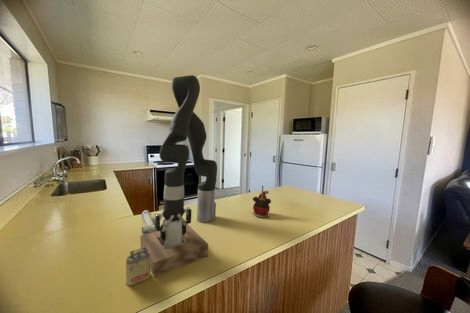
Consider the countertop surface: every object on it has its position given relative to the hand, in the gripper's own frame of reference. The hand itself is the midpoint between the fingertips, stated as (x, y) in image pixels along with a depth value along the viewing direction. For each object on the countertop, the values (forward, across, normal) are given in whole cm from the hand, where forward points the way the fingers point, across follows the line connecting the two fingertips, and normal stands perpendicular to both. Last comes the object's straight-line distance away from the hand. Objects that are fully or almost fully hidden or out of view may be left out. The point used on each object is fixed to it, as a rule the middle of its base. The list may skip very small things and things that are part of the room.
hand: (173, 236), depth 77 cm
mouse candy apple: (+6, -56, -8) cm, 57 cm away
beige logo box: (+7, +14, +8) cm, 18 cm away
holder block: (+6, 0, 0) cm, 6 cm away
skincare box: (+5, 0, 0) cm, 5 cm away
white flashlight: (+4, +6, -27) cm, 28 cm away
